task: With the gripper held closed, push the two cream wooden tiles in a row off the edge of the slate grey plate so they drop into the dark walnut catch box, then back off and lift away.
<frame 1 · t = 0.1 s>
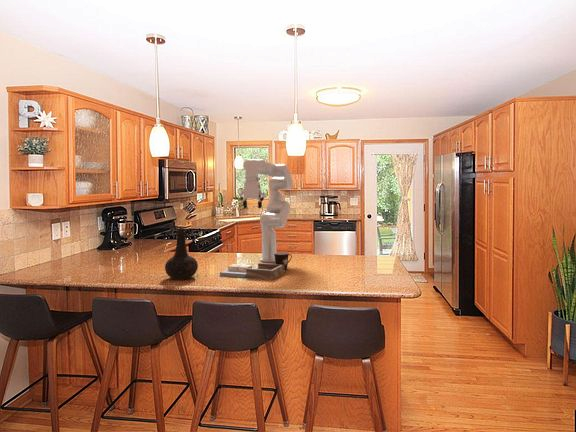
hand: (252, 208, 275), 37 cm above the countertop, tool pointing down, fingers open, 9 cm apart
dark bulbous vase: (182, 278, 254), on the countertop
cream tile 1: (235, 269, 264), point 2 cm above the countertop, touching slate plate
cream tile 2: (245, 270, 262), point 2 cm above the countertop, touching slate plate
catch box: (265, 275, 257), on the countertop
slate plate: (239, 273, 263), on the countertop
coffee mug: (284, 270, 271), on the countertop
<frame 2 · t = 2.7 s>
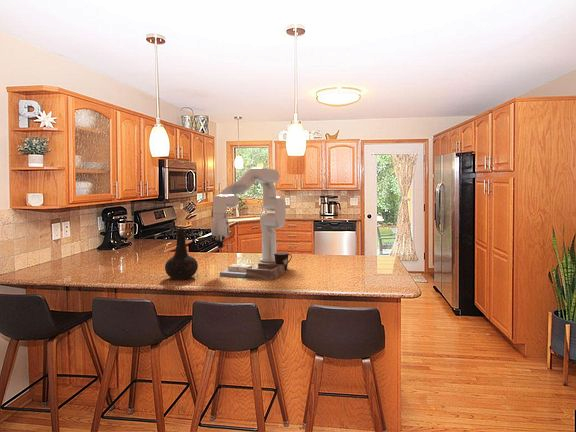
hand: (220, 247, 266), 15 cm above the countertop, tool pointing down, fingers closed
nothing on the countertop moved.
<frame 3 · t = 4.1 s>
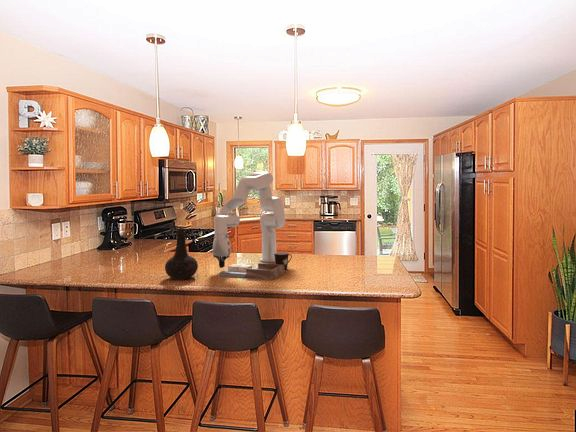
hand: (221, 267, 267), 3 cm above the countertop, tool pointing down, fingers closed
nothing on the countertop moved.
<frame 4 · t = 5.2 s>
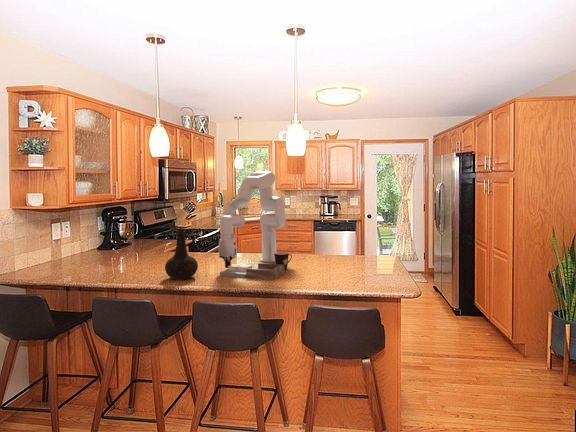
hand: (228, 267, 266), 3 cm above the countertop, tool pointing down, fingers closed
cream tile 1: (235, 269, 264), point 2 cm above the countertop, touching gripper
everything else where it was.
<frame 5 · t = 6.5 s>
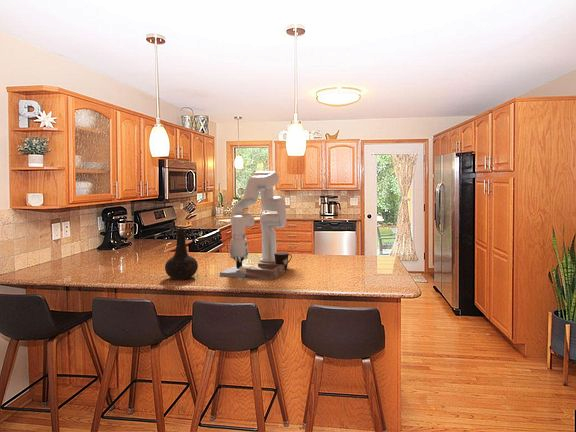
hand: (239, 268, 263), 3 cm above the countertop, tool pointing down, fingers closed
cream tile 1: (246, 270, 261), point 2 cm above the countertop, touching gripper
cream tile 2: (255, 272, 259), point 1 cm above the countertop, tilted 22°, touching slate plate
everything else where it was.
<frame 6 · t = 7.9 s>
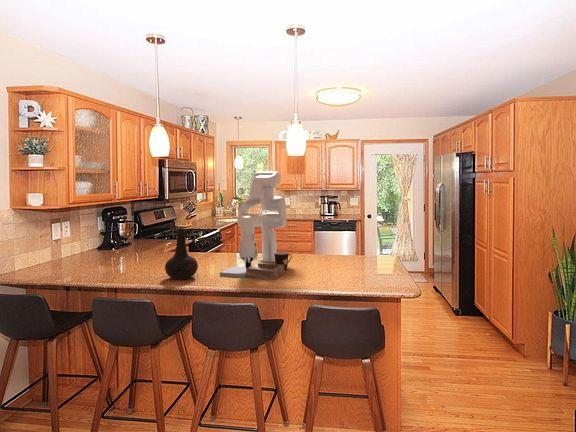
hand: (248, 269, 261), 3 cm above the countertop, tool pointing down, fingers closed
cream tile 1: (254, 272, 259), point 1 cm above the countertop, tilted 27°
cream tile 2: (265, 275, 258), resting in catch box
everything else where it was.
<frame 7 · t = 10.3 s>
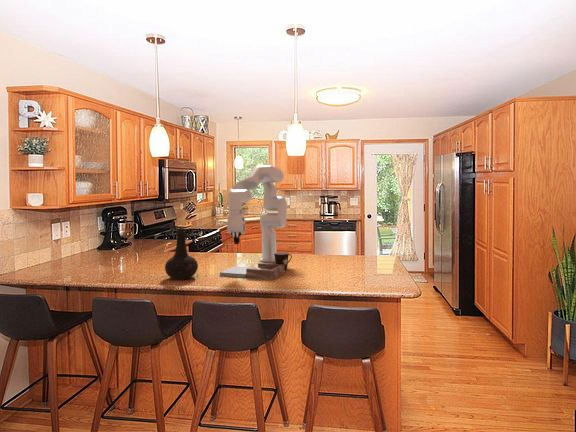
hand: (236, 243, 263), 17 cm above the countertop, tool pointing down, fingers closed
cream tile 1: (254, 272, 259), point 1 cm above the countertop, tilted 26°, touching slate plate
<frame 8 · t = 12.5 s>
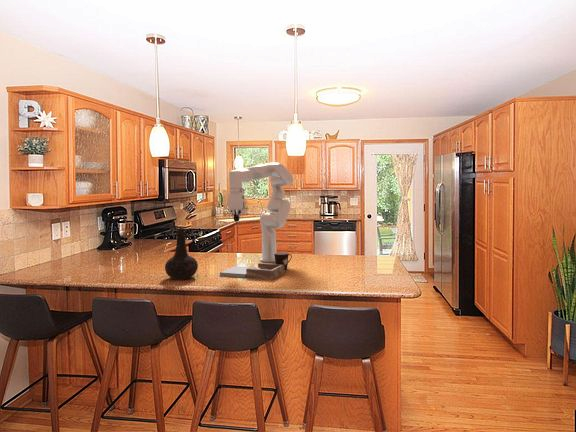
hand: (236, 221, 273), 29 cm above the countertop, tool pointing down, fingers closed
nothing on the countertop moved.
at the end: cream tile 2 inside the target area on the catch box (1.2 cm from its centre), point 0.0 cm above the catch box's base; cream tile 1 inside the target area on the catch box (5.9 cm from its centre), point 1.3 cm above the catch box's base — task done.
